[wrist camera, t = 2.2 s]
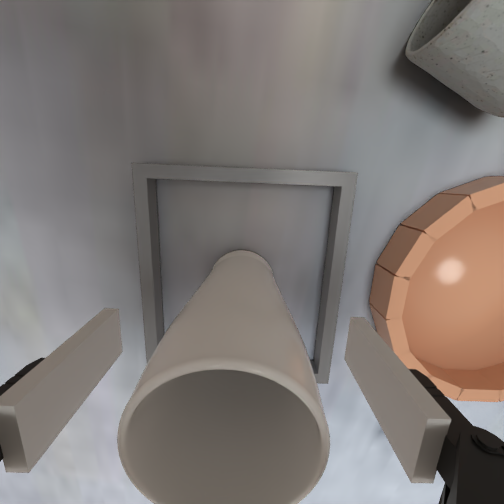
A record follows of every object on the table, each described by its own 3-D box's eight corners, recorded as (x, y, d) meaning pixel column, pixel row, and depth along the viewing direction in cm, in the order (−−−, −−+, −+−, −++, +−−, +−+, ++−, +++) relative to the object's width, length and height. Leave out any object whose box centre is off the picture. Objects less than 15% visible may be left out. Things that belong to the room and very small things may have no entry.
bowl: (391, 172, 20) (415, 171, 17) (625, 182, 20) (687, 182, 17) (356, 372, 25) (370, 397, 22) (546, 379, 25) (584, 405, 22)
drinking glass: (202, 238, 22) (98, 356, 7) (283, 240, 22) (348, 362, 7) (203, 312, 23) (123, 527, 9) (279, 314, 23) (322, 531, 9)
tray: (141, 164, 20) (131, 162, 18) (348, 173, 20) (357, 172, 18) (155, 363, 25) (147, 377, 23) (322, 369, 25) (328, 383, 23)
